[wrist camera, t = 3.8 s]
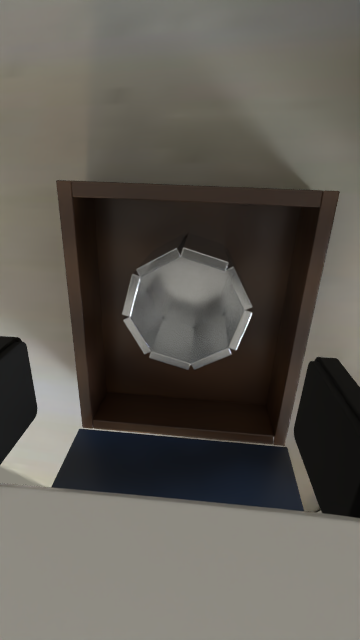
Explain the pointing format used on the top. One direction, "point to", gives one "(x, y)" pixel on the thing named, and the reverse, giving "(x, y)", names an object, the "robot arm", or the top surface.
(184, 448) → the lid
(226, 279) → the grey octagonal hollow piece
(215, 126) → the top surface
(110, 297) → the brown tray
